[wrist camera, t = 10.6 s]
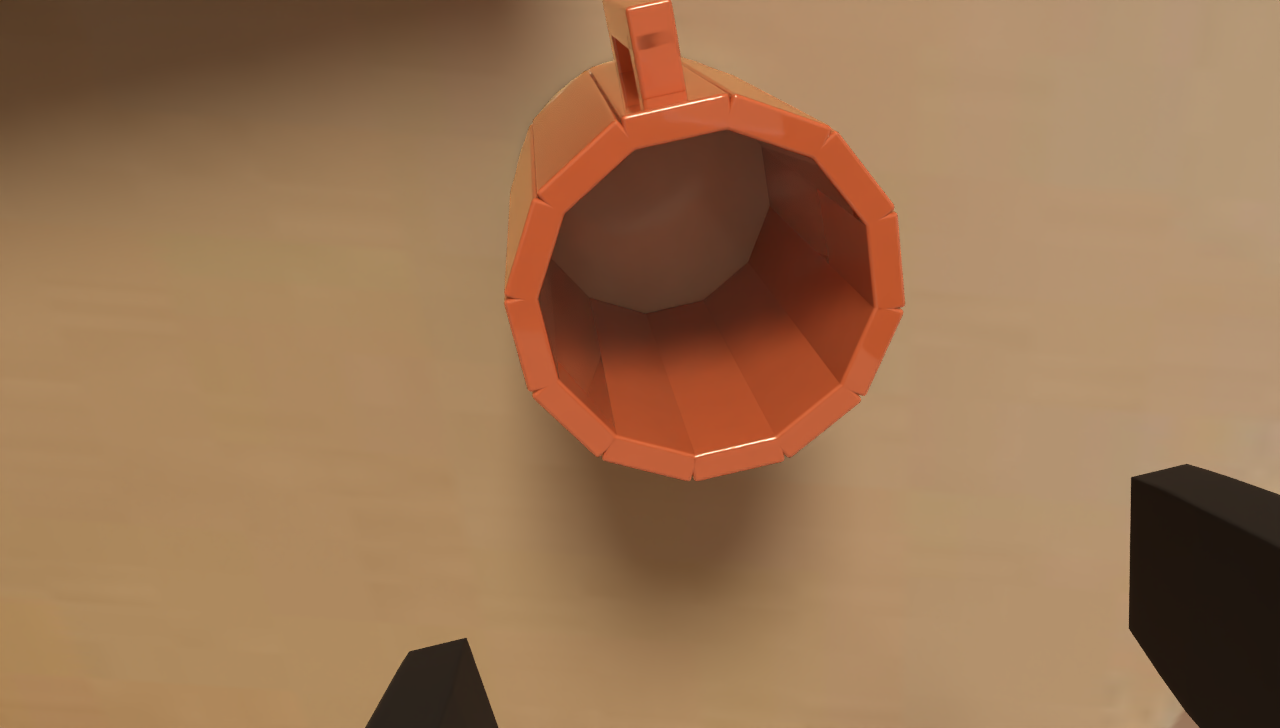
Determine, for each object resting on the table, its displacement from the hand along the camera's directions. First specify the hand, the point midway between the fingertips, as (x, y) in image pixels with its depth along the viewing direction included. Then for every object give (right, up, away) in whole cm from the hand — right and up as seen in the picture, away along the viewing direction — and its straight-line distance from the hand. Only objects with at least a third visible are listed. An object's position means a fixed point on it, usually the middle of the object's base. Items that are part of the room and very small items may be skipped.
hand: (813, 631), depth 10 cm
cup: (-2, +6, +8) cm, 11 cm away
